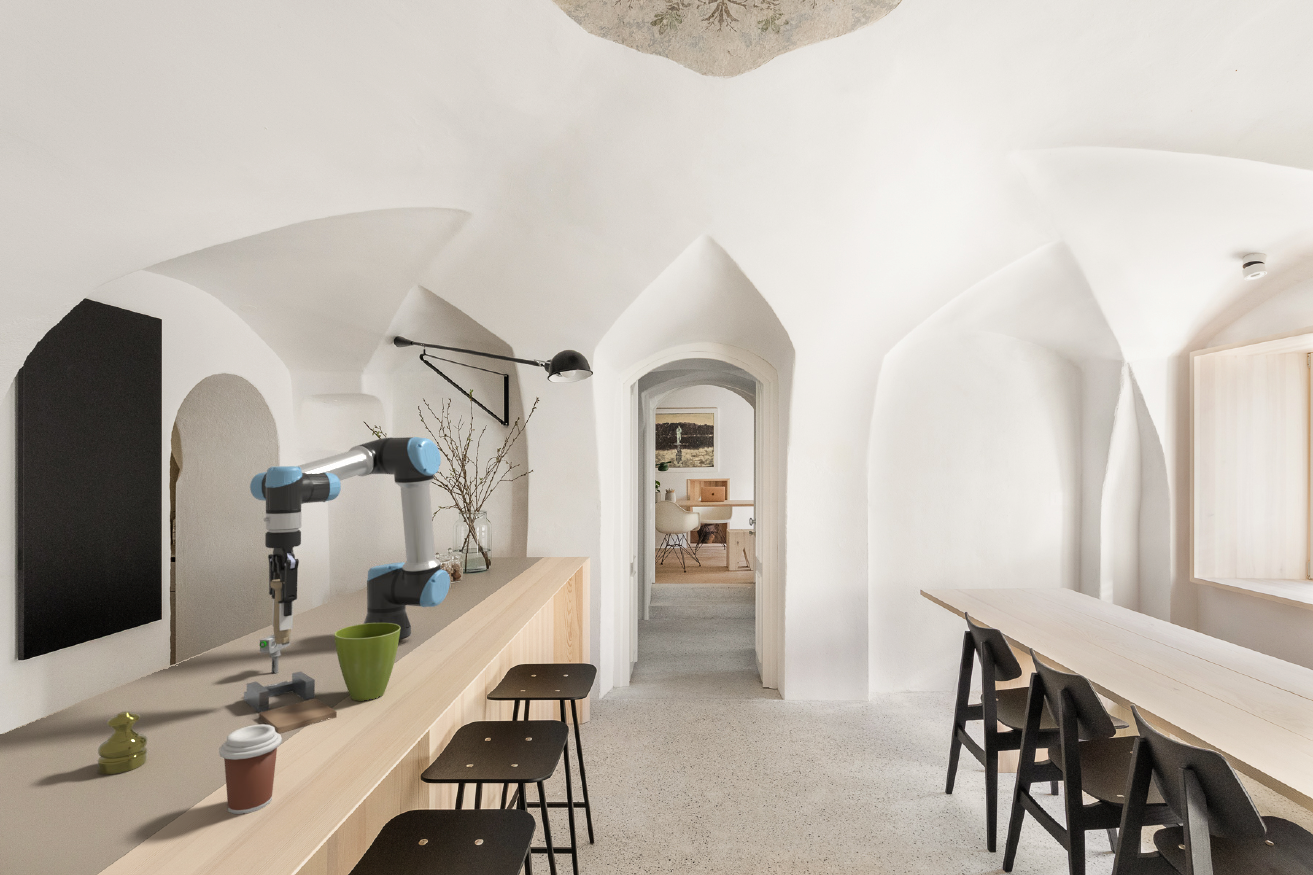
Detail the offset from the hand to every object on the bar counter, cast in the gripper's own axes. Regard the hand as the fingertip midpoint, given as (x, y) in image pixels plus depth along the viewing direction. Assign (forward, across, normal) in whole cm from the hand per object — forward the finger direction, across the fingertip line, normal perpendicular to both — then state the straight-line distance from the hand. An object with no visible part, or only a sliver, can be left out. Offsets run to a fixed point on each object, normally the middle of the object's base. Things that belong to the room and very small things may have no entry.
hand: (282, 627), depth 159 cm
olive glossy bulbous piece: (+17, +14, -32) cm, 39 cm away
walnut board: (+17, +14, -1) cm, 22 cm away
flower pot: (+18, +12, +15) cm, 26 cm away
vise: (+17, -2, 0) cm, 18 cm away
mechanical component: (+18, -23, +6) cm, 30 cm away
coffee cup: (+17, +47, -20) cm, 54 cm away
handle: (+4, 0, 0) cm, 4 cm away
